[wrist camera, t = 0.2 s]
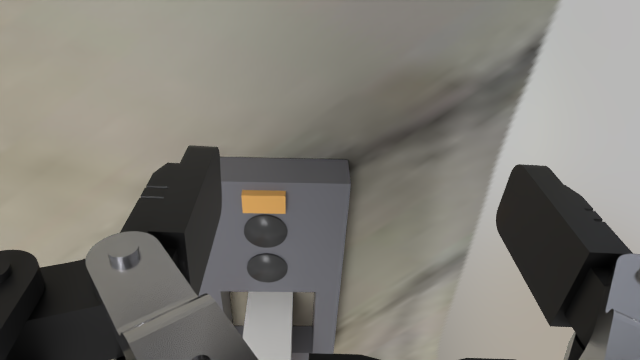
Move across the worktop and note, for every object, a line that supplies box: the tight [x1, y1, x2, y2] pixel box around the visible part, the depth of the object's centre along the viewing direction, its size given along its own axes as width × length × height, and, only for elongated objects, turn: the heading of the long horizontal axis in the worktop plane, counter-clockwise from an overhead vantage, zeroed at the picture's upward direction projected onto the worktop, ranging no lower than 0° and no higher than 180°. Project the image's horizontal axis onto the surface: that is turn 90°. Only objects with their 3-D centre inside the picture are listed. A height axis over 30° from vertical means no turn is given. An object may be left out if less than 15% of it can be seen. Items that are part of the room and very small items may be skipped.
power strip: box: [199, 157, 351, 360], centre depth 38 cm, size 22×12×4 cm, turn 178°
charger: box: [243, 292, 293, 360], centre depth 38 cm, size 4×4×11 cm
